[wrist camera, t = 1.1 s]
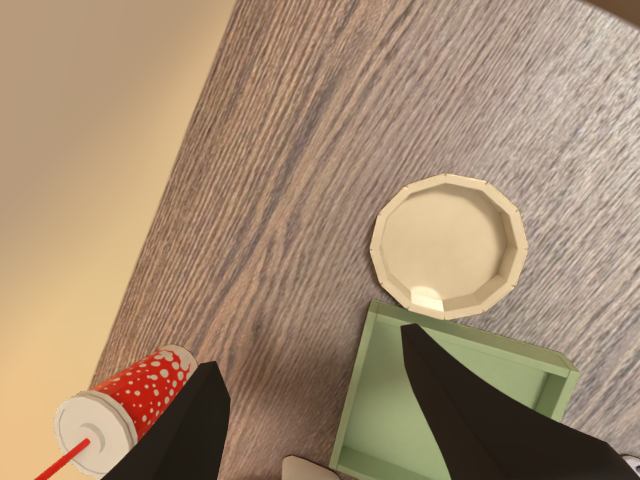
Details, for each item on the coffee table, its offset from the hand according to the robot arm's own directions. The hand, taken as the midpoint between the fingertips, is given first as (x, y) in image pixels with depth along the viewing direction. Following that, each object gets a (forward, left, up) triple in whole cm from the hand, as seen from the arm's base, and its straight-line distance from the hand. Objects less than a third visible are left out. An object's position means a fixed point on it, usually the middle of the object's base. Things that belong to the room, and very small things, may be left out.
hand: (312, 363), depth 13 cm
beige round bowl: (-5, -4, -13) cm, 15 cm away
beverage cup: (+14, +13, -13) cm, 23 cm away
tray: (-8, +8, -13) cm, 17 cm away
